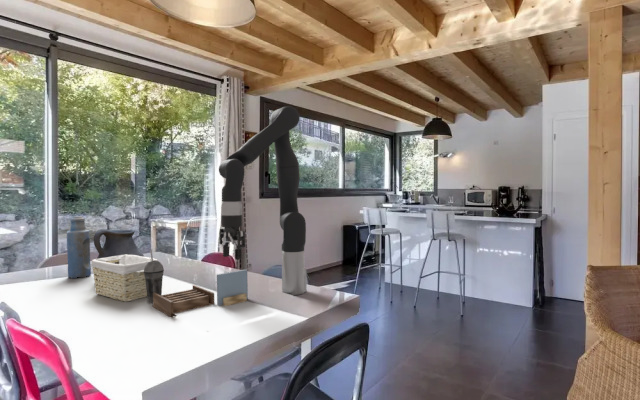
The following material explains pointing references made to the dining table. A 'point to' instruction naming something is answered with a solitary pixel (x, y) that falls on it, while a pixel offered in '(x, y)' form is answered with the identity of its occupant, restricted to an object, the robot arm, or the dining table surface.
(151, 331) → the dining table surface
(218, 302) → the plate
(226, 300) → the plate stand
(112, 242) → the pitcher
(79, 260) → the bottle
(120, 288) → the storage basket
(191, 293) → the rack
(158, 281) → the beverage cup
